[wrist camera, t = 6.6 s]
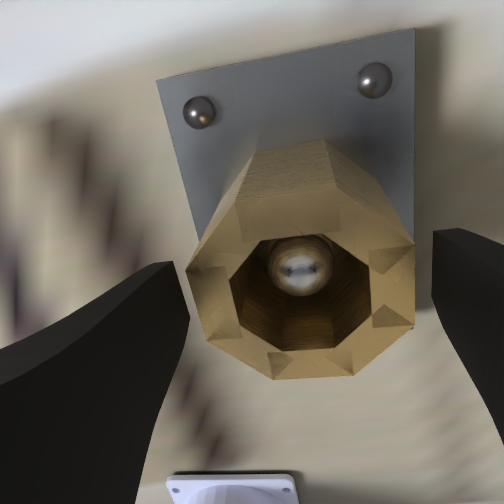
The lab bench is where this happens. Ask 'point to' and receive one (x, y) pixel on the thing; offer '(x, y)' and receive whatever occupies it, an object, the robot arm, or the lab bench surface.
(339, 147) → the block
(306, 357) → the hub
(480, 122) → the lab bench surface
